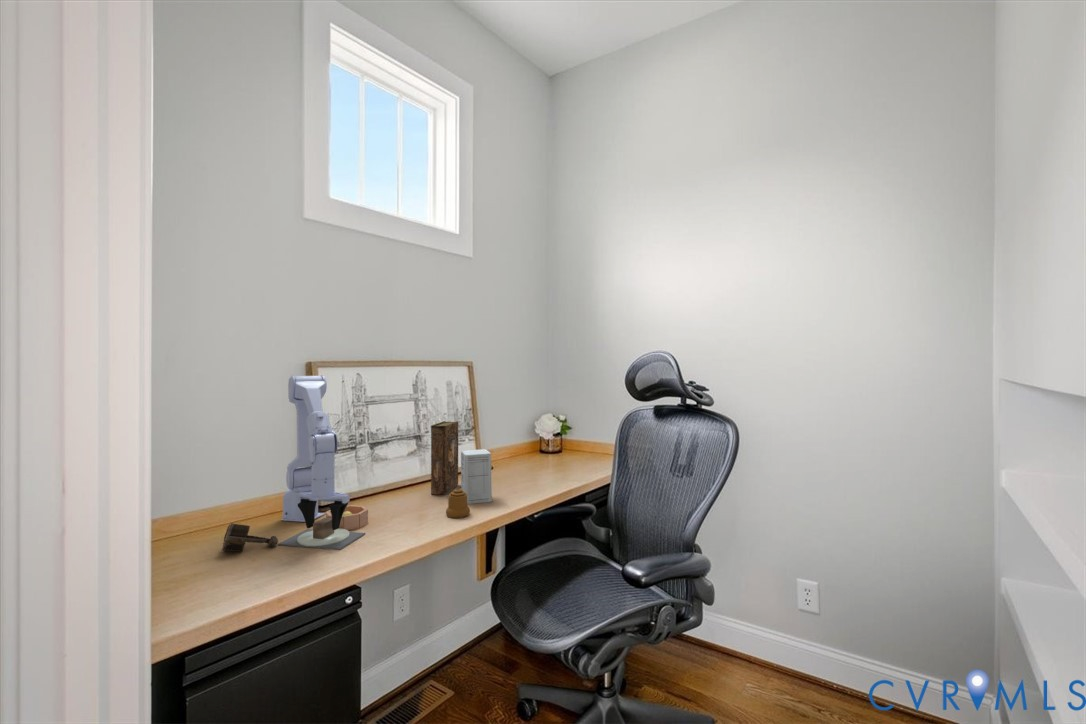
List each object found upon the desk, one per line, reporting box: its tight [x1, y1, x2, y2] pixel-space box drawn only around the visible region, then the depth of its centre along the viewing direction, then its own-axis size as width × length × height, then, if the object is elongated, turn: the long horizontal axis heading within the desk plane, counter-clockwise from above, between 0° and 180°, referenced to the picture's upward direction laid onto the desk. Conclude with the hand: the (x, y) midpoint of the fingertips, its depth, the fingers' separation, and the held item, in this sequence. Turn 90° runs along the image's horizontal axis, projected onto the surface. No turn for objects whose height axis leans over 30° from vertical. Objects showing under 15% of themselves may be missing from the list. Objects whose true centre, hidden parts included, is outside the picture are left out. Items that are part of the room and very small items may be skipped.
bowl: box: [325, 504, 369, 531], centre depth 150 cm, size 11×11×4 cm
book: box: [430, 420, 459, 496], centre depth 191 cm, size 16×6×25 cm, turn 172°
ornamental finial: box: [445, 488, 471, 519], centre depth 159 cm, size 8×8×8 cm
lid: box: [297, 517, 350, 546], centre depth 137 cm, size 13×13×5 cm
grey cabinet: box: [460, 448, 493, 505], centre depth 177 cm, size 10×9×17 cm
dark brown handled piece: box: [221, 523, 279, 552], centre depth 130 cm, size 7×13×10 cm
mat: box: [277, 528, 366, 551], centre depth 137 cm, size 18×12×1 cm, turn 79°
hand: (323, 528), depth 137 cm, fingers open, 7 cm apart
